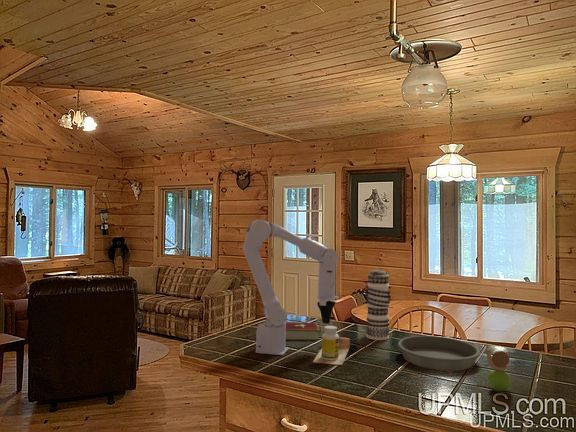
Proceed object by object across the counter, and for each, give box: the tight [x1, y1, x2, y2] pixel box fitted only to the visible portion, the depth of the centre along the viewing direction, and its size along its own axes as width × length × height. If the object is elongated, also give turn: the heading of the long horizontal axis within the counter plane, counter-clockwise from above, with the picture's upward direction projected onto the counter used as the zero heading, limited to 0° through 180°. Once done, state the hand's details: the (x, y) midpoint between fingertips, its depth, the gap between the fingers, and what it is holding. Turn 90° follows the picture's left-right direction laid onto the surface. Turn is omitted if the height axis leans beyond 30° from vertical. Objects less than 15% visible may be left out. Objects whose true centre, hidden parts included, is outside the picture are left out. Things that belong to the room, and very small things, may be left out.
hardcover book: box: [263, 321, 320, 340], centre depth 165 cm, size 12×21×4 cm, turn 91°
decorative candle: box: [365, 269, 392, 341], centre depth 164 cm, size 9×9×25 cm
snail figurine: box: [484, 343, 512, 393], centre depth 113 cm, size 5×6×12 cm
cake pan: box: [397, 335, 481, 372], centre depth 138 cm, size 25×25×4 cm
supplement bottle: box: [321, 325, 340, 360], centre depth 137 cm, size 5×5×10 cm
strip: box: [312, 336, 351, 366], centre depth 142 cm, size 9×20×3 cm, turn 165°
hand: (326, 323), depth 148 cm, fingers closed
